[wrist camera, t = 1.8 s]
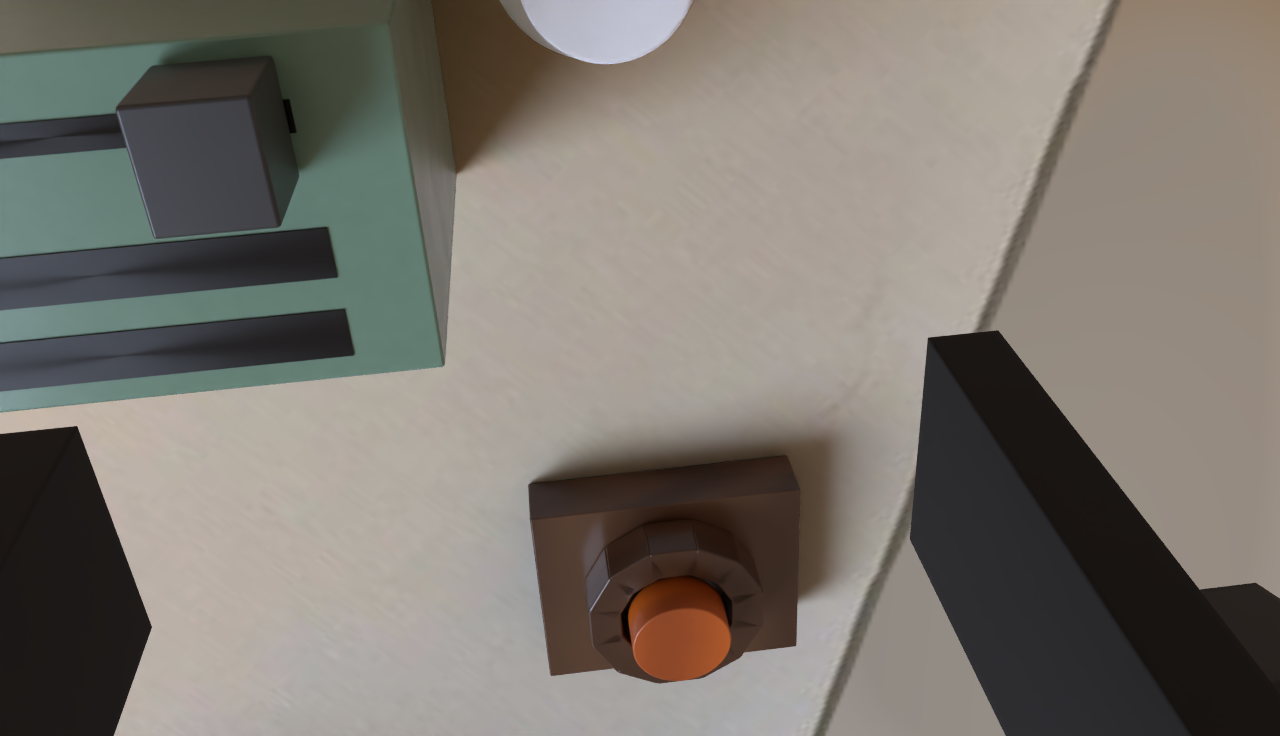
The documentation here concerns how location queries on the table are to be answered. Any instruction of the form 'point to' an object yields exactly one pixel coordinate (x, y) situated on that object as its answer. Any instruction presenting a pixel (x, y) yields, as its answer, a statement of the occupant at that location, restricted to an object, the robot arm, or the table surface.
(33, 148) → the toaster
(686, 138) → the table surface
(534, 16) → the supplement bottle
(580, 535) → the button block
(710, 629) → the button
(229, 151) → the slider
